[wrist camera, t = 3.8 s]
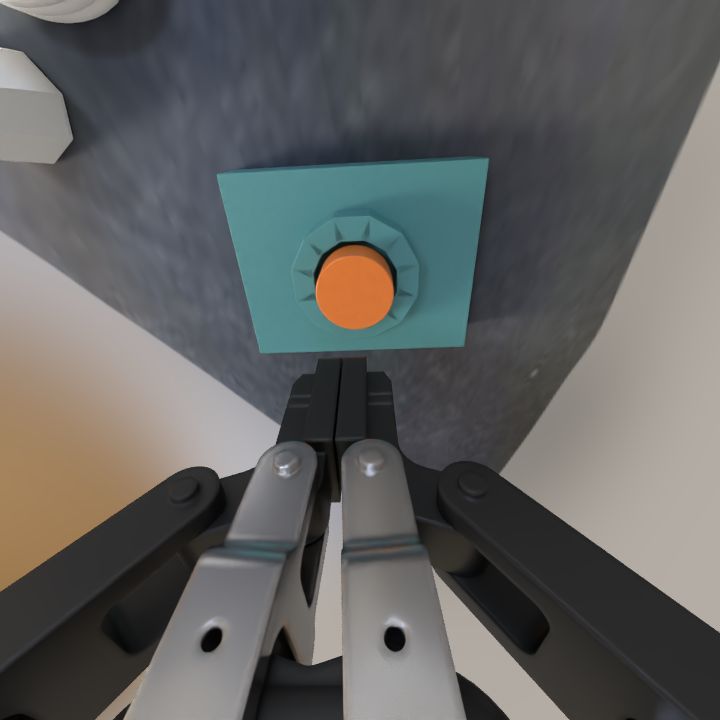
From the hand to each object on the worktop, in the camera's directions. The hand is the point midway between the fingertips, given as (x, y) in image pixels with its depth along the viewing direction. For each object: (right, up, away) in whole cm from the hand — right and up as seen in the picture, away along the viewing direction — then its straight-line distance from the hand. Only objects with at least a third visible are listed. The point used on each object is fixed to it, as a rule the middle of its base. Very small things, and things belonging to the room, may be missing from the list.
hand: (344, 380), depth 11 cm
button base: (0, +8, +12) cm, 14 cm away
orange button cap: (0, +5, +8) cm, 9 cm away
